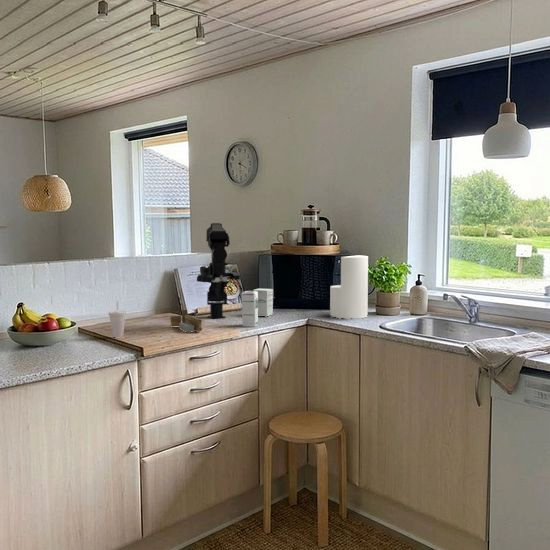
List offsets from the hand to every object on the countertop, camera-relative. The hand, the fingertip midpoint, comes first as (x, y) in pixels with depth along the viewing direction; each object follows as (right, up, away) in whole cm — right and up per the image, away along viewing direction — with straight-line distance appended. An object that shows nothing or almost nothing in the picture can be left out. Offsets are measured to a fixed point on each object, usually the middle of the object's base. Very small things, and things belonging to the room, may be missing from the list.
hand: (219, 297), depth 235 cm
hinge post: (-16, -12, -1) cm, 20 cm away
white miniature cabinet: (+13, -12, +2) cm, 18 cm away
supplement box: (+18, -10, +29) cm, 35 cm away
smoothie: (-36, -14, -23) cm, 45 cm away
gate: (-10, -12, -8) cm, 17 cm away
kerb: (-12, -13, -10) cm, 20 cm away
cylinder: (+58, -10, +27) cm, 64 cm away
